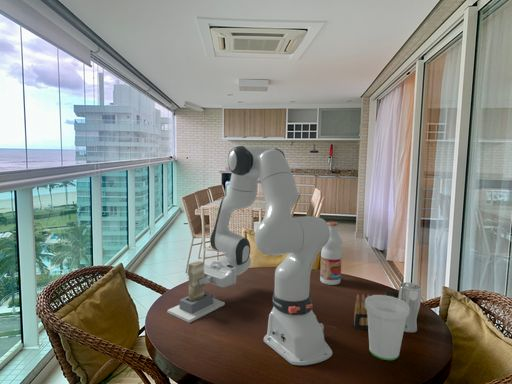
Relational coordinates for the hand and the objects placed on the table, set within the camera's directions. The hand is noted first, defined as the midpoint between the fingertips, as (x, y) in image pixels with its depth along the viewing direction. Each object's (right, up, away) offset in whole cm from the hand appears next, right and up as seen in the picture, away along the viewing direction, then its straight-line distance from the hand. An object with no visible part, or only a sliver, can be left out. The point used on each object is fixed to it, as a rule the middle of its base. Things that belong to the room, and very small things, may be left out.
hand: (194, 280), depth 125 cm
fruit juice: (+58, -9, +31) cm, 66 cm away
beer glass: (+75, -14, -10) cm, 77 cm away
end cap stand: (0, -11, +2) cm, 11 cm away
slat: (0, -8, +2) cm, 9 cm away
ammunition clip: (+62, -14, -10) cm, 64 cm away
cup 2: (+61, -15, -24) cm, 68 cm away
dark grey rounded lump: (+75, -13, +1) cm, 76 cm away
